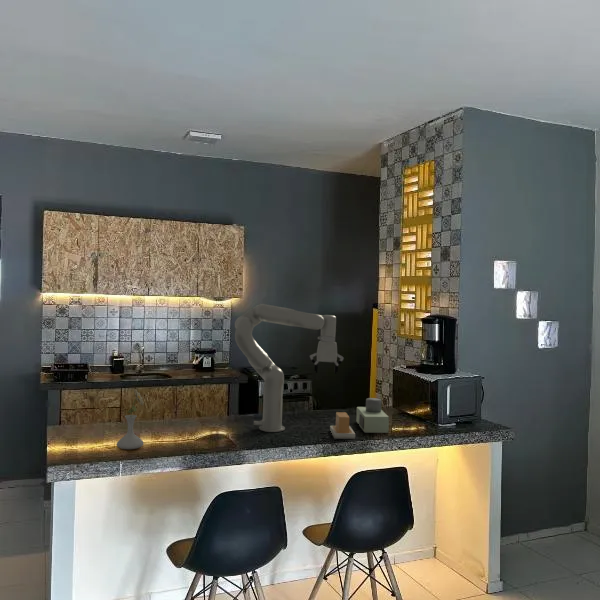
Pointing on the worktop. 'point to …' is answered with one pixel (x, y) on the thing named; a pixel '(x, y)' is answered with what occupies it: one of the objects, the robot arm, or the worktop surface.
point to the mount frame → (342, 435)
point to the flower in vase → (131, 429)
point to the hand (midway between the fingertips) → (325, 372)
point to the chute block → (342, 422)
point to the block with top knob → (372, 417)
